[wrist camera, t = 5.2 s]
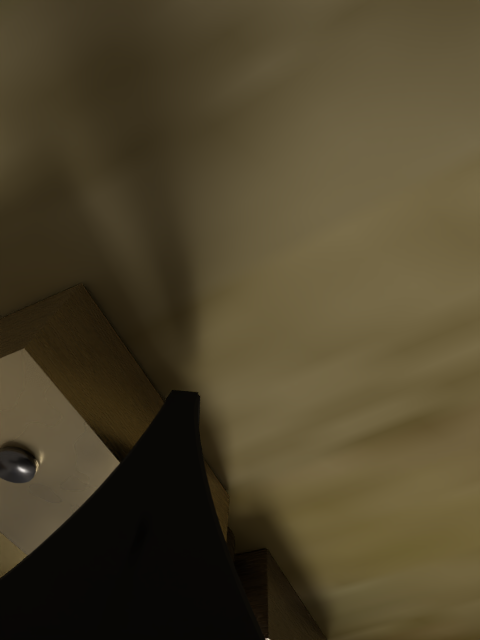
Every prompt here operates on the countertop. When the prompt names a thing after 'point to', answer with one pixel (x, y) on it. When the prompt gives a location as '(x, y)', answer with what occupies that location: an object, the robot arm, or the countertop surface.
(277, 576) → the hinge base
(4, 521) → the studded beige block
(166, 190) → the countertop surface
